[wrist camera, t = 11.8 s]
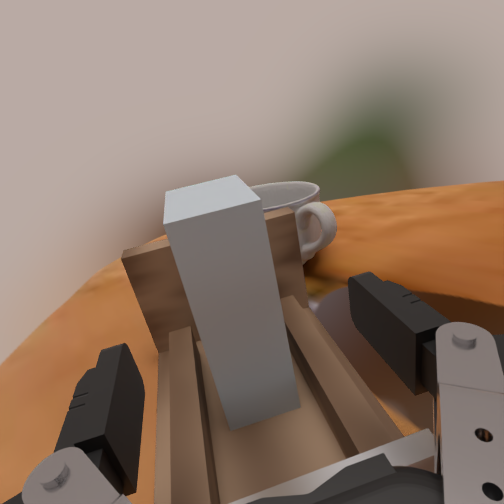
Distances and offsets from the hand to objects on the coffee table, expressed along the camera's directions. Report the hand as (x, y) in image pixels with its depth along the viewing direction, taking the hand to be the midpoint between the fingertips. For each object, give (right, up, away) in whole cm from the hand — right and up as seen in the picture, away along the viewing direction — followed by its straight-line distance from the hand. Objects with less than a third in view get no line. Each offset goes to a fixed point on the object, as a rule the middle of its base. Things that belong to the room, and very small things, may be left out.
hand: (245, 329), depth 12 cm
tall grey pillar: (0, -5, +9) cm, 11 cm away
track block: (+1, -6, +9) cm, 11 cm away
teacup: (+4, +1, +24) cm, 24 cm away
